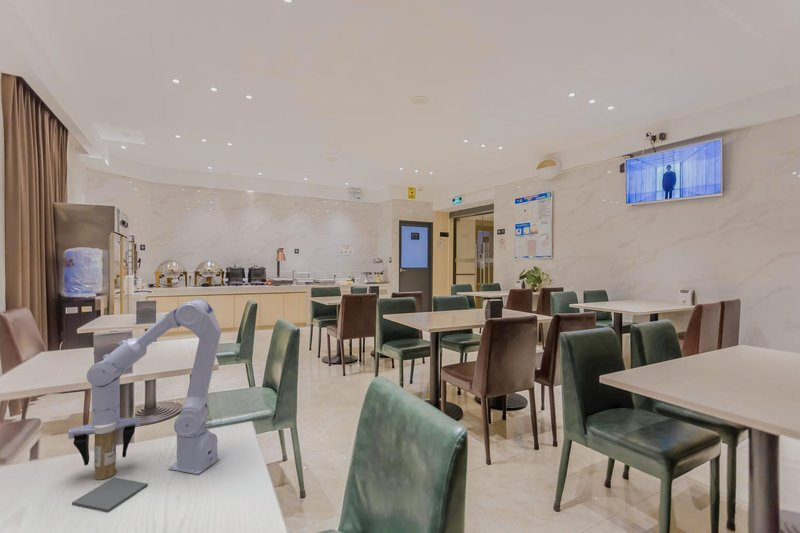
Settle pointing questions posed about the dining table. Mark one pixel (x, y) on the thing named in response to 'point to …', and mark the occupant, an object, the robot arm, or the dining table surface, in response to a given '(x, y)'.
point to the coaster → (110, 494)
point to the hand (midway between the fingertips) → (105, 459)
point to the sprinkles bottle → (105, 451)
